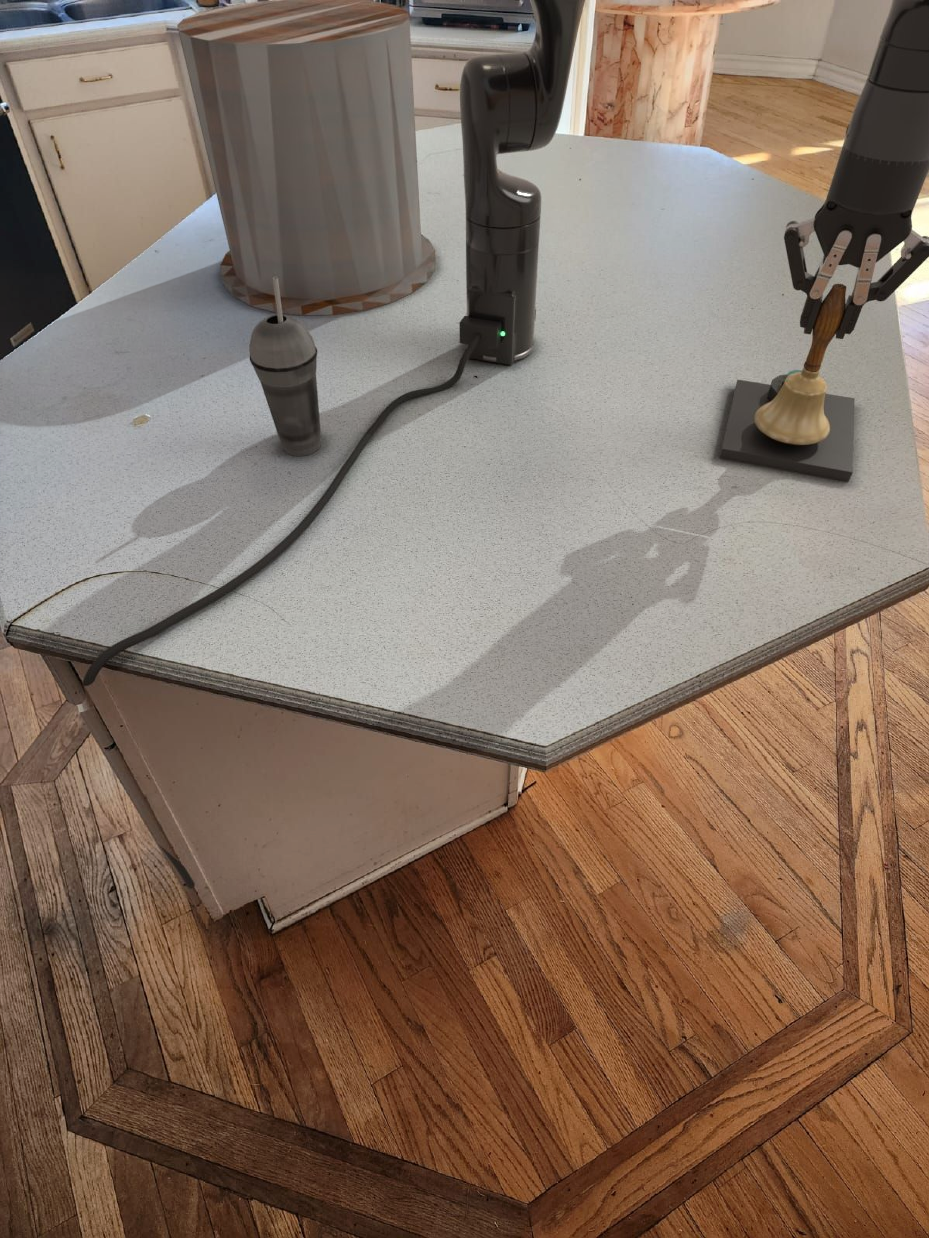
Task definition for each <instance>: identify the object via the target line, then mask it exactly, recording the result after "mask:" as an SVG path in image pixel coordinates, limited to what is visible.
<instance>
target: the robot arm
mask: <svg viewBox="0 0 929 1238" xmlns="http://www.w3.org/2000/svg"><path fill="white" fill-rule="evenodd" d="M529 3H530V5H531V10H532V12H533V13H532V14H533V16H534V20H535V31H534V32H535V33H534V39H533V41H532V45H531V47H530V48H529V49H528V50H527V51H522V52H521V51H520V52H509V53H507V52H506V53H496V54H484V55H483V54H482V55H478V56H473V57H471V58H469V59H468V60H467V61H466V63H465V65H464V66H463V69H462V73H461V77H460V85H459V107H460V108H459V111H460V112H459V113H460V128H461V139H462V140H461V141H462V157H463V158H462V159H463V187H464V202H465V204H464V205H465V277H466V278H465V281H466V282H465V285H466V287H465V288H466V289H465V291H466V315H464V316H463V317H462V318H461V320H460V321H459V322H458V324H459V326H458V327H459V344H462V345H466V349H465V350H464V352H463V354H462V355H461V357H460V359H459V361H458V365H457V367H456V371H455V373H454V375H453V376H452V377H451V378H450V379H448V380H447V381H446V382H444V383H442V384H440V385H437V386H433V387H428V388H420V389H416V390H415V389H414V390H411V391H409V392H406V393H404V394H401V395H400V396H398V397H397V398H395V399H394V400H393V401H391V402H390V403H389V404H388V405H387V406H386V407H385V408H384V409H383V410H382V412H381V413H380V414H379V415H378V417H377V418H376V420H374V422H373V423H372V424H371V425H370V426H369V428H368V429H367V430H366V431H365V433H364V434H363V435H362V437H361V438H360V439H359V441H358V443H357V444H356V445H355V447H354V449H353V450H352V452H351V453H350V455H349V456H348V458H347V459H346V460H345V462H344V463H343V465H342V466H341V468H340V469H339V471H338V472H337V474H336V475H335V477H334V479H333V480H332V482H331V483H330V485H329V486H328V487H327V489H325V491H324V493H323V494H322V495H321V497H320V498H319V500H318V501H317V502H316V503H315V505H314V506H313V507H312V508H311V510H309V512H308V513H307V514H306V516H305V517H304V518H303V519H302V520H301V521H300V522H299V524H298V525H297V526H296V527H295V528H294V529H293V530H292V531H291V532H290V533H289V534H288V535H286V537H285V538H283V539H282V540H281V541H280V542H279V543H278V544H277V545H276V546H274V547H273V549H271V550H270V551H269V552H268V553H267V554H265V555H264V556H263V557H261V559H259V560H258V561H256V562H255V563H254V564H253V565H251V566H250V567H248V568H247V569H246V570H245V571H243V572H241V573H240V574H239V575H237V576H235V577H234V578H232V579H231V580H230V581H227V582H226V583H225V584H224V585H222V586H220V587H219V588H217V589H215V590H214V591H213V592H211V593H209V594H206V595H205V596H203V597H202V598H200V599H198V600H196V601H195V602H192V603H190V604H188V605H186V606H185V607H184V608H182V609H180V610H178V611H176V612H174V613H173V614H171V615H169V616H167V617H166V618H164V619H163V620H161V621H158V623H156V624H154V625H152V626H150V627H148V628H145V629H144V630H141V631H140V632H137V633H135V634H132V635H130V636H128V637H126V638H124V639H122V640H120V641H117V642H116V643H114V644H112V645H111V646H109V647H108V648H106V649H105V650H104V651H103V652H101V653H100V654H99V655H98V656H97V657H96V658H95V660H93V662H91V665H90V666H89V667H88V669H87V671H86V673H85V675H84V677H83V680H82V686H84V687H88V686H91V685H92V684H93V683H94V682H95V681H96V678H97V677H98V675H99V673H100V671H101V670H102V668H103V667H104V666H106V664H107V663H108V662H109V661H110V660H111V659H113V658H114V657H116V656H117V655H118V654H120V653H122V652H123V651H125V650H128V649H129V648H132V647H133V646H136V645H139V644H140V643H142V642H145V641H147V640H149V639H151V638H153V637H155V636H157V635H159V634H161V633H162V632H165V631H166V630H168V629H169V628H171V627H172V626H174V625H176V624H177V623H179V622H181V621H182V620H184V619H187V618H188V617H190V616H191V615H194V614H195V613H197V612H199V611H201V610H203V609H204V608H206V607H208V606H209V605H212V604H213V603H215V602H217V601H219V600H220V599H222V598H224V597H225V596H226V595H228V594H229V593H231V592H232V591H234V590H235V589H237V588H238V587H240V586H241V585H243V584H245V583H246V582H247V581H249V580H250V579H251V578H253V577H254V576H256V575H257V574H258V573H260V572H261V571H262V570H263V569H265V568H266V567H268V566H269V565H270V564H272V562H274V561H275V560H276V559H277V558H278V557H280V555H282V554H283V552H285V551H286V550H287V549H288V548H289V547H290V546H291V545H292V544H293V543H294V542H296V540H297V539H299V538H300V536H301V535H302V534H303V533H305V531H306V530H308V529H307V528H309V526H310V525H311V524H312V523H313V522H314V520H315V519H316V518H317V516H318V515H319V514H320V513H321V511H323V509H325V507H326V505H327V504H328V503H329V502H330V500H331V499H332V497H333V496H334V494H335V493H336V491H337V490H338V488H339V487H340V485H341V484H342V483H343V481H344V479H345V477H346V476H347V474H348V473H349V471H350V470H351V468H352V467H353V465H354V464H355V462H356V461H357V460H358V458H359V456H360V455H361V454H362V452H363V450H364V448H365V447H366V445H367V444H368V443H369V441H370V440H372V437H373V436H374V435H375V433H377V431H378V430H379V429H380V427H381V426H382V425H383V423H384V422H385V421H386V419H387V418H388V417H389V416H390V415H391V414H392V412H394V410H396V409H397V408H398V407H400V406H401V405H402V404H404V403H405V402H407V401H409V400H411V399H415V398H419V397H424V396H429V395H432V394H436V393H441V392H443V391H445V390H449V389H450V388H452V387H453V386H455V385H456V384H457V383H458V382H459V381H460V379H461V377H462V376H463V374H464V371H465V367H466V364H467V362H468V360H469V359H472V360H477V361H483V362H489V363H495V364H502V365H507V366H512V365H513V364H514V363H515V362H517V361H519V360H523V359H525V358H526V357H528V356H529V355H531V354H532V352H533V351H534V348H535V326H536V325H535V324H536V323H535V322H536V316H537V315H536V314H537V309H536V303H537V287H538V286H537V283H538V269H539V268H538V267H539V250H540V236H541V235H540V234H541V233H540V231H541V214H542V213H541V212H542V194H541V191H540V188H538V186H537V185H536V184H534V183H533V182H531V181H529V180H527V179H525V178H521V177H518V176H515V175H511V174H508V173H506V172H503V171H502V170H500V169H499V168H498V163H497V162H498V160H497V156H498V155H504V154H505V155H506V154H513V153H524V152H532V151H536V150H540V149H542V148H545V147H547V146H548V145H549V144H550V143H551V141H552V140H553V139H554V137H555V135H556V132H557V131H558V127H559V125H560V122H561V117H562V114H563V113H562V112H563V109H564V105H565V104H564V103H565V100H566V95H567V90H568V84H569V79H570V73H571V68H572V63H573V58H574V52H575V47H576V42H577V37H578V33H579V27H580V23H581V19H582V15H583V11H584V7H585V4H586V0H529ZM928 173H929V0H891V4H890V8H889V11H888V14H887V16H886V20H885V22H884V24H883V27H882V30H881V33H880V36H879V39H878V42H877V45H876V48H875V52H874V55H873V58H872V61H871V64H870V68H869V71H868V74H867V78H866V81H865V83H864V86H863V88H862V91H861V93H860V95H859V97H858V99H857V102H856V104H855V107H854V109H853V112H852V115H851V118H850V121H849V123H848V126H847V127H846V129H845V137H844V141H843V144H842V146H841V149H840V154H839V157H838V160H837V163H836V166H835V169H834V172H833V175H832V179H831V182H830V185H829V189H828V192H827V194H826V198H825V200H824V202H823V205H822V206H821V207H820V208H819V209H818V210H817V212H816V213H815V214H814V217H812V218H810V219H807V220H804V221H801V222H798V221H796V220H791V221H789V222H788V223H787V224H786V226H785V228H784V229H785V230H784V234H783V240H784V246H785V251H786V252H785V253H786V256H787V261H788V267H789V273H790V278H791V283H792V287H793V289H794V290H795V291H801V292H803V293H805V294H806V298H805V302H804V305H803V307H802V310H801V314H800V317H799V327H800V328H803V334H804V335H812V332H813V326H814V324H815V321H816V318H817V315H818V312H819V309H820V306H821V303H822V301H823V299H824V298H823V297H824V292H825V290H826V288H827V287H828V284H829V282H830V280H831V279H832V278H833V277H834V274H835V271H836V270H837V268H838V266H845V265H846V266H847V265H849V266H852V267H855V268H857V270H856V271H857V272H856V275H855V276H856V277H855V281H854V284H853V290H852V293H851V295H850V294H848V296H847V299H846V301H845V312H844V316H843V319H842V321H841V324H840V326H839V329H838V331H837V332H836V334H835V339H838V340H844V337H845V336H846V335H851V334H852V333H853V331H854V330H855V329H856V325H857V323H858V320H859V318H860V314H861V312H862V309H863V308H864V306H865V304H866V303H868V302H869V303H870V302H873V301H877V302H884V301H886V300H887V299H889V297H890V296H892V294H893V293H894V292H895V291H896V290H897V289H898V288H900V287H901V286H902V284H903V283H905V281H906V280H907V279H909V278H910V276H912V275H913V273H915V271H916V270H917V269H919V267H921V265H922V264H923V263H924V262H925V261H926V260H927V259H928V258H929V236H928V235H923V236H922V235H920V234H919V233H918V232H916V231H915V230H913V222H912V216H913V212H914V210H915V206H916V203H917V201H918V199H919V195H920V193H921V191H922V188H923V186H924V184H925V181H926V178H927V176H928ZM812 233H815V235H816V239H817V240H818V243H819V246H820V248H821V251H822V254H823V255H822V257H821V260H820V262H819V265H818V267H817V269H816V272H815V273H814V275H812V274H811V273H809V272H808V268H807V262H806V258H805V251H804V248H805V247H806V246H807V245H808V244H809V241H810V236H811V234H812ZM902 243H904V244H903V246H902V247H901V249H900V257H899V258H898V259H897V260H896V261H895V263H893V265H892V266H891V267H889V268H888V270H886V272H885V273H884V274H882V275H881V277H880V278H879V279H878V280H877V281H873V277H874V272H875V267H876V265H877V263H878V262H879V261H880V260H882V259H883V258H884V257H886V255H888V254H889V253H890V252H892V251H893V250H894V249H895V248H897V247H898V246H899V245H900V244H902ZM872 281H873V282H872ZM157 845H158V846H159V847H160V849H161V850H162V852H163V853H164V854H165V856H166V857H167V858H168V860H169V861H170V862H171V864H172V865H173V867H174V868H175V870H176V871H177V872H178V874H179V875H180V877H181V879H182V880H183V882H184V884H185V885H186V886H187V888H188V889H191V890H192V889H193V888H194V887H195V886H196V883H195V881H194V880H193V878H192V877H191V875H190V873H189V872H188V870H187V869H186V867H185V866H184V865H183V864H182V863H181V862H180V861H179V860H177V858H175V857H174V856H173V855H172V854H170V852H168V851H167V850H166V849H165V848H164V847H163V846H161V844H159V843H157Z"/></svg>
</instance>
